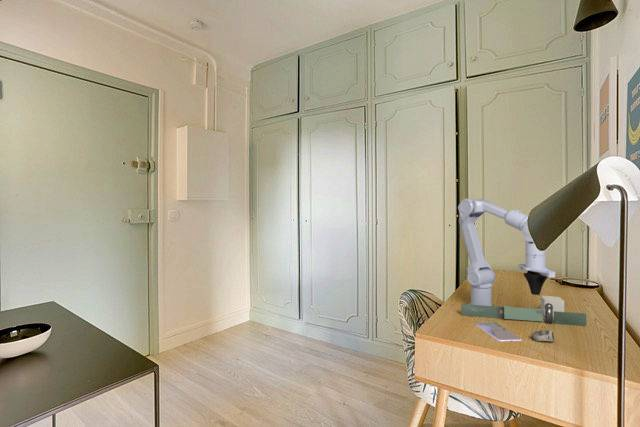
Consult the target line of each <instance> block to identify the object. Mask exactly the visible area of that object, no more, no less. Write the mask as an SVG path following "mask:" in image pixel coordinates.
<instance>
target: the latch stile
mask: <svg viewBox="0 0 640 427" xmlns="http://www.w3.org/2000/svg"><path fill="white" fill-rule="evenodd" d="M460 306H461V308H460V310H461V316H462V315H463V317H464V316H466V317H477V318H478V317H479V318H490V319H495V318H496V319H501V320H502V319H504V318H503V306H500V305H499V306H498V305H496V306H495V305H492V306H484V305H469V303H467V304H465V303H461V305H460ZM504 320H505V319H504Z"/></svg>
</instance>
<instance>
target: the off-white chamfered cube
mask: <svg viewBox="0 0 640 427" xmlns="http://www.w3.org/2000/svg"><path fill="white" fill-rule="evenodd" d="M546 303H550V304H552V305H553V317H554V311H558V312H565V300H564V299H562V298H561V297H560V296H553V295H552V296H551V295H540V309H543V310H544V314H543V316H545V304H546Z"/></svg>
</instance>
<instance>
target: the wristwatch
mask: <svg viewBox="0 0 640 427" xmlns="http://www.w3.org/2000/svg"><path fill="white" fill-rule="evenodd" d="M531 335H532V339H533V340H534V341H537V342H538V341H539V342H540V341H541V342H543V341H545V342H546V341H547V342H551V343H553V342H555V337H554V336H555V335H554V332H553V331H552V330H551V329H548V330H546V329H545V330H543V329H541V330H536V331H534V332H531Z"/></svg>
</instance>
